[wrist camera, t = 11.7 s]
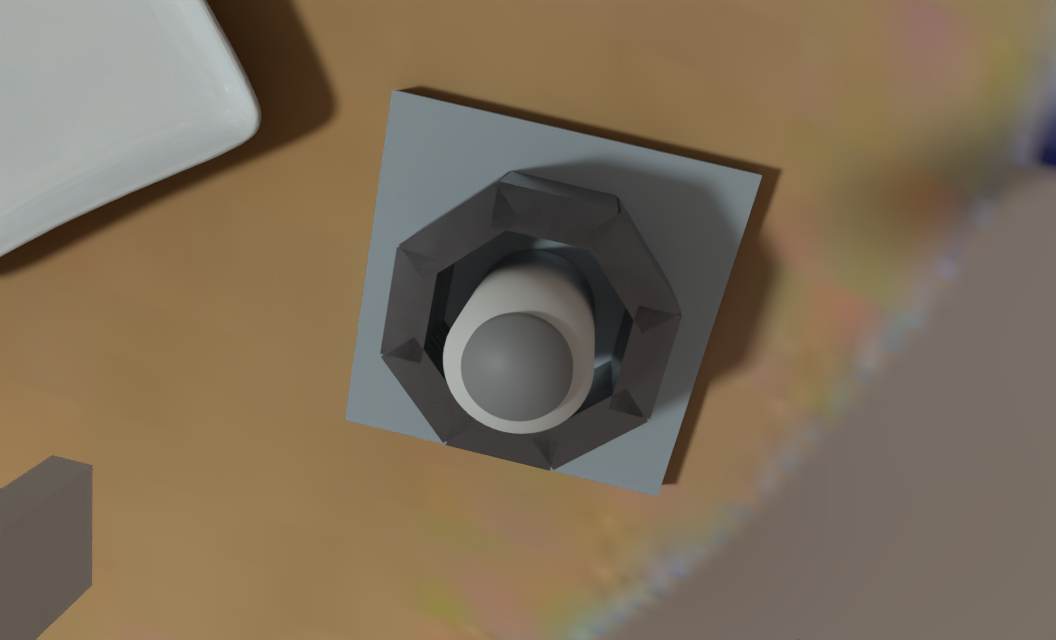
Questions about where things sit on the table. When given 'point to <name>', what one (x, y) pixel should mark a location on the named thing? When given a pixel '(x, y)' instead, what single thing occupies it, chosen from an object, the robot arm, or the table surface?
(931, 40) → the table surface
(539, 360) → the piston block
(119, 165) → the salad plate
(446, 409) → the ring
